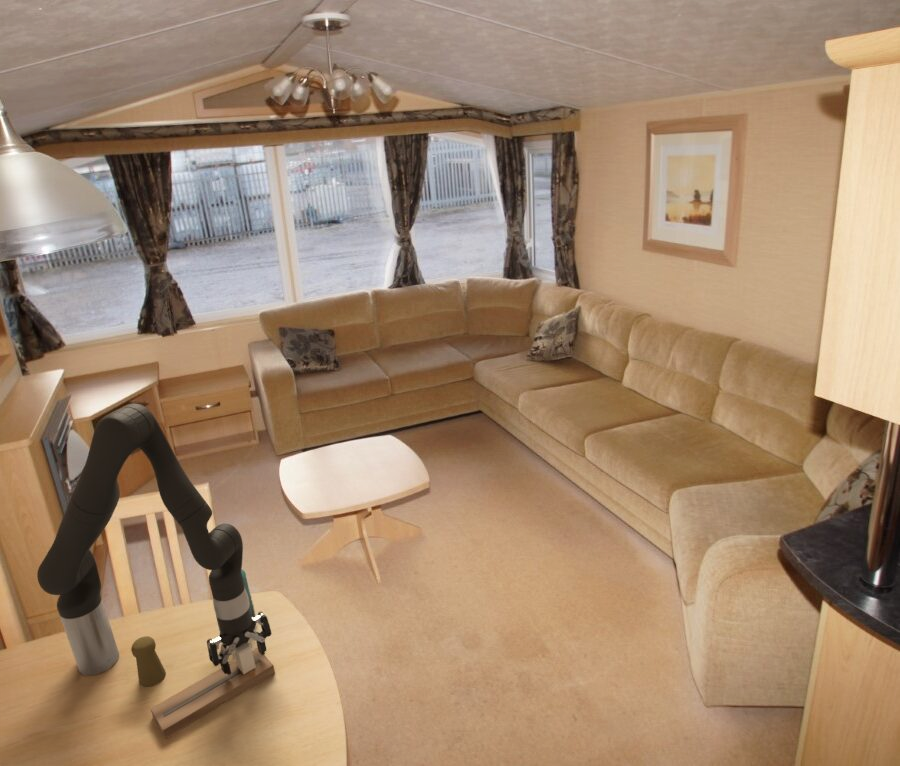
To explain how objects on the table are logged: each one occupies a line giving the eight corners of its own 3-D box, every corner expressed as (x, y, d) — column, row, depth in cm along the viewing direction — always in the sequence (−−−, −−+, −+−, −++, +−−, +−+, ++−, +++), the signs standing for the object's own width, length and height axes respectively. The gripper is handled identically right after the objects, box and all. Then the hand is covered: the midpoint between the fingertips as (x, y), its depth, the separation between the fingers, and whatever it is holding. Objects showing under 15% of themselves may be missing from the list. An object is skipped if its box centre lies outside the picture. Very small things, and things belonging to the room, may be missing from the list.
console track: (152, 716, 153) (150, 708, 152) (259, 655, 168) (257, 647, 167) (165, 738, 147) (162, 729, 146) (275, 673, 162) (273, 664, 161)
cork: (156, 688, 160) (145, 652, 156) (133, 686, 162) (122, 649, 158) (171, 669, 166) (160, 633, 162) (148, 666, 167) (138, 631, 163)
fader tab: (235, 665, 162) (230, 643, 159) (248, 658, 164) (243, 636, 161) (243, 674, 159) (238, 652, 156) (256, 667, 161) (251, 645, 158)
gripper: (253, 585, 162) (265, 639, 168) (195, 614, 153) (209, 670, 159) (268, 600, 156) (280, 655, 162) (208, 631, 148) (223, 688, 154)
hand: (245, 662), depth 161 cm, fingers open, 8 cm apart
